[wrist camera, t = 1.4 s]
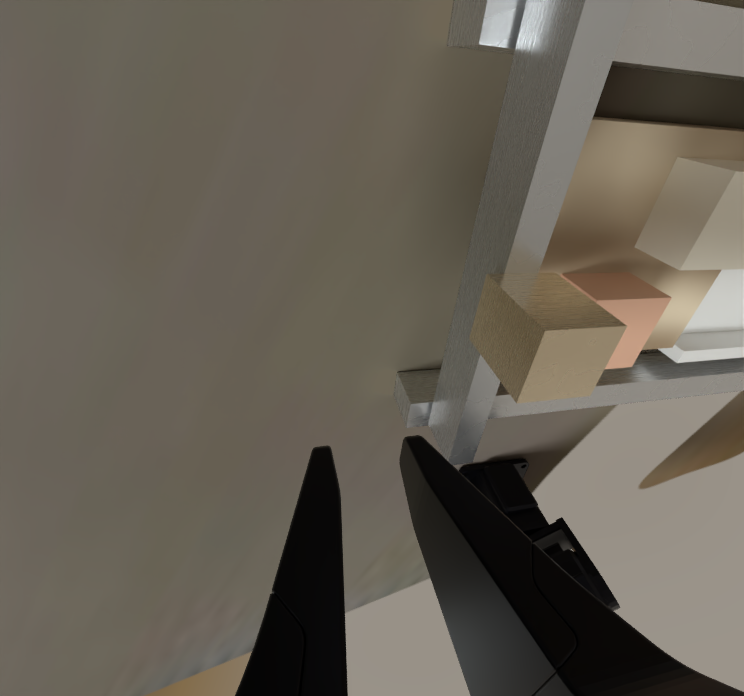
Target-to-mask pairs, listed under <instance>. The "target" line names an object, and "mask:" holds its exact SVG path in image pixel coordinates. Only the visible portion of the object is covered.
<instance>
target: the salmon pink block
mask: <svg viewBox="0 0 744 696" xmlns="http://www.w3.org/2000/svg"><path fill="white" fill-rule="evenodd" d="M560 276H561V277H562V278H563V279H565V280H566V281H567V282H569V283H570V284H571V285H573V286H574V287H575V288H577V289H578V290H579V291H581V292H582V293H584V294H585V295H586V296H588V297H589V298H590V299H592V300H593V301H594V302H596V303H597V304H598V305H600V306H601V307H602V308H604V309H605V310H606V311H608V312H609V313H611V314H612V315H613V316H615V317H616V318H617V319H619V320H620V321H621V322H623V323H624V324H625V325H627V328H626V330H625V332H624V334H623V335H622V337H621V339H620V341H619V343H618V345H617V347H616V349H615V350H614V352H613V354H612V356H611V358H610V360H609V362H608V364H607V365H606V367H605V369H615V368H627V367H632V366H633V364H634V362H635V360H636V359H637V357H638V355H639V354H640V352H641V350H642V348H643V347H644V345H645V343H646V342H647V340H648V338H649V336H650V335H651V333H652V331H653V329H654V328H655V326H656V324H657V323H658V321H659V319H660V317H661V316H662V314H663V312H664V311H665V309H666V307H667V305H668V304H669V302H670V300H671V298H672V297H670V296H668V295H667V294H665V293H663V292H662V291H660V290H658V289H657V288H655V287H653V286H652V285H650V284H648V283H646V282H645V281H643V280H641V279H640V278H638V277H636V276H635V275H633V274H631V273H630V272H623V273H574V274H561V275H560Z"/></svg>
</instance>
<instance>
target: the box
mask: <svg viewBox="0 0 744 696" xmlns="http://www.w3.org/2000/svg"><path fill="white" fill-rule="evenodd" d="M658 350H660V351H661V352H662V353H664V354H665V355H667V356H668V357H669V358H671V359H672V360H673V361H675V362H676V363H683V362H695V361H707V360H718V359H730V358H742V357H744V269H729V270H721V272H720V273H719V275H718V277H717V278H716V280H715V281H714V283H713V284H712V286H711V288H710V289H709V291H708V292H707V294H706V296H705V297H704V299H703V300H702V302H701V303H700V305H699V307H698V308H697V310H696V311H695V313H694V315H693V316H692V318H691V319H690V321H689V322H688V324H687V326H686V327H685V329H684V330H683V332H682V333H681V335H680V337H679V338H678V340H677V341H676V343H675V345H674V346H673V348H661V349H658Z"/></svg>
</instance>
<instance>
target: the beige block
mask: <svg viewBox="0 0 744 696" xmlns="http://www.w3.org/2000/svg"><path fill="white" fill-rule="evenodd" d="M635 248H637V249H639V250H641V251H643V252H645V253H647V254H649V255H651V256H653V257H654V258H656V259H658V260H660V261H662V262H664V263H666V264H668V265H670V266H672V267H674V268H676V269H678V270H729V269H744V161H735V160H719V159H702V158H685V157H677V159H676V161H675V163H674V165H673V167H672V169H671V172H670V174H669V176H668V178H667V180H666V182H665V184H664V186H663V188H662V190H661V192H660V194H659V197H658V199H657V201H656V203H655V205H654V207H653V209H652V211H651V213H650V215H649V217H648V219H647V222H646V224H645V226H644V228H643V230H642V232H641V234H640V236H639V238H638V240H637V242H636V244H635Z"/></svg>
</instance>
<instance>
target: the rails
mask: <svg viewBox="0 0 744 696" xmlns="http://www.w3.org/2000/svg"><path fill="white" fill-rule="evenodd" d="M526 1H527V0H454V5H453V12H452V18H451V25H450V31H449V38H448V44H447V46H451V47H459V48H468V49H476V50H485V51H493V52H501V53H510V54H514V52H515V48H516V44H517V39H518V35H519V31H520V26H521V22H522V18H523V13H524V9H525V5H526ZM611 66H619V67H628V68H636V69H645V70H653V71H661V72H670V73H678V74H687V75H695V76H704V77H712V78H720V79H729V80H737V81H744V9H741V8H735V7H730V6H724V5H718V4H712V3H706V2H701V1H695V0H634V1H633V4H632V7H631V10H630V13H629V16H628V18H627V21H626V24H625V27H624V30H623V33H622V36H621V38H620V41H619V44H618V47H617V50H616V53H615V56H614V58H613V61H612V64H611ZM440 371H441V369H435V370H422V371H409V372H397V377H396V384H395V390H394V397H395V400H396V402H397V405H398V408H399V410H400V413H401V415H402V418H403V420H404V423H405V426H406V428H409V427H418V426H427V425H429V424H428V422H429V418H430V414H431V409H432V405H433V401H434V396H435V392H436V388H437V384H438V379H439V375H440ZM735 391H744V357H742V358H730V359H718V360H707V361H695V362H683V363H676V362H675V361H673V360H672V359H671V358H669V357H668V356H667V355H665V354H664V353H662V352H656V353H643V354H639V355H638V357H637V359H636V360H635V362H634V364H633V366H632V367H627V368H615V369H604V371H603V373H602V375H601V377H600V379H599V380H598V382H597V384H596V386H595V388H594V390H593V392H592V394H591V396H586V397H576V398H566V399H556V400H547V401H537V402H527V403H517V404H516V402H515V401H514V399H513V398H512V397H511V395H510V394H509V393H508V391H507V390H506V389H505V387H504V386H503V384H502V383H501V382H500V384H499V387H498V390H497V393H496V396H495V399H494V401H493V404H492V407H491V410H490V413H489V416H488V419H490V418H500V417H509V416H518V415H527V414H536V413H545V412H554V411H563V410H572V409H581V408H591V407H600V406H609V405H618V404H627V403H636V402H644V401H654V400H663V399H672V398H681V397H690V396H699V395H709V394H718V393H727V392H735Z"/></svg>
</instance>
